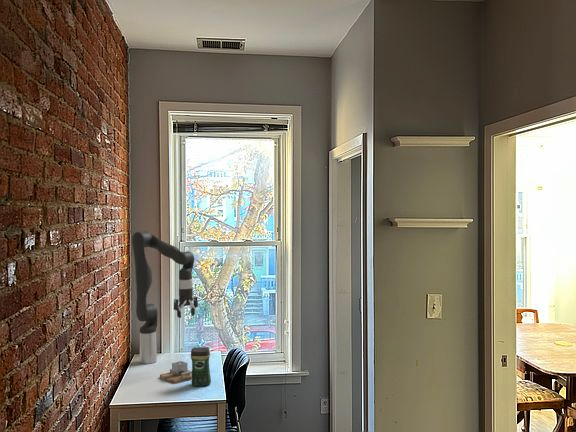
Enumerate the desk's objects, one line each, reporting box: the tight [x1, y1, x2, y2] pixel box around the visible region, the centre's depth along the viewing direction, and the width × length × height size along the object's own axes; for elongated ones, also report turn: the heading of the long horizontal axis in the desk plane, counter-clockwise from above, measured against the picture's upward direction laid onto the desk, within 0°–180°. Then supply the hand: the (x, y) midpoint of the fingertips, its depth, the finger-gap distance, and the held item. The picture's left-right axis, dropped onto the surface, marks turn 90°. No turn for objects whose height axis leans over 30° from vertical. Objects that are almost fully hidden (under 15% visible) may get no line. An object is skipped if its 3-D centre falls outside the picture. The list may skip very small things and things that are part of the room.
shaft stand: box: [159, 363, 192, 385], centre depth 295 cm, size 15×15×8 cm
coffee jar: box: [190, 346, 212, 387], centre depth 282 cm, size 10×8×19 cm
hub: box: [171, 360, 189, 377], centre depth 295 cm, size 6×6×6 cm
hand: (186, 316), depth 315 cm, fingers open, 8 cm apart
